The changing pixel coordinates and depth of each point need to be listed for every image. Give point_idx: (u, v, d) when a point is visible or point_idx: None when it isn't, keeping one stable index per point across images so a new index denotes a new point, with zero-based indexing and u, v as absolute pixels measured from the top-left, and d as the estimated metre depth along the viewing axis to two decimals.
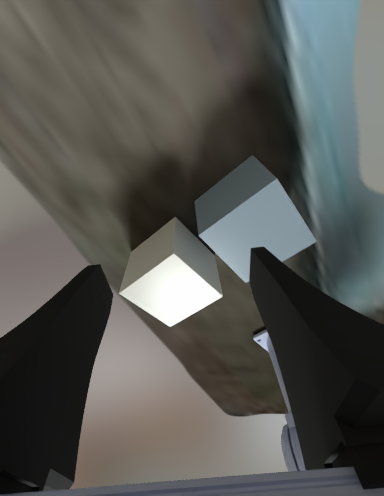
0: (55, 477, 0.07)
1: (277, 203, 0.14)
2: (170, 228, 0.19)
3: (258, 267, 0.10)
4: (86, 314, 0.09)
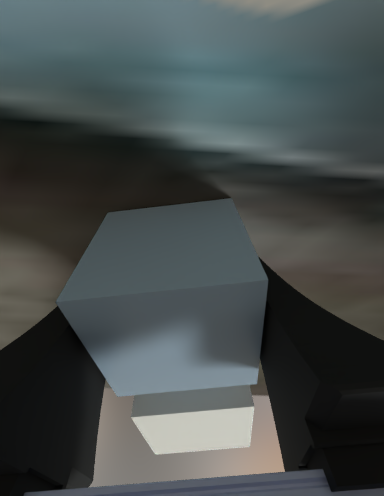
0: (76, 475, 0.07)
1: (114, 314, 0.07)
2: None
3: None
4: None
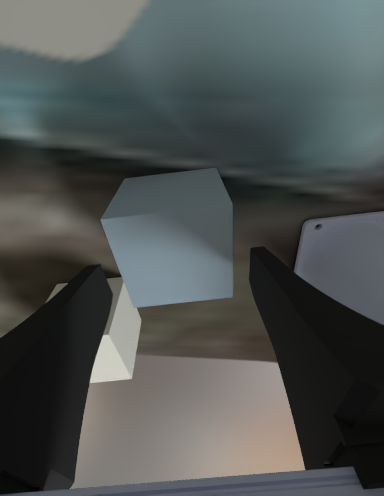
0: (55, 477, 0.07)
1: (136, 230, 0.10)
2: None
3: (258, 267, 0.10)
4: (86, 314, 0.09)
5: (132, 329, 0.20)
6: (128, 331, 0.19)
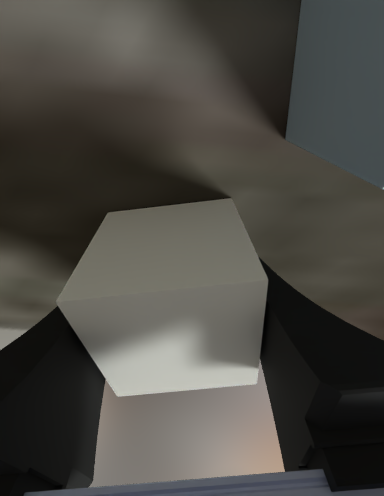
0: (76, 475, 0.07)
1: None
2: None
3: None
4: None
5: None
6: None
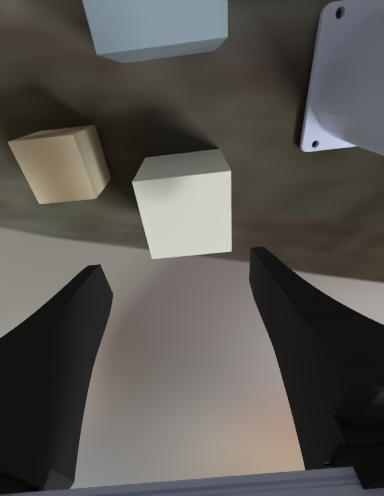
0: (55, 477, 0.07)
1: None
2: None
3: (258, 267, 0.10)
4: (86, 314, 0.09)
5: None
6: None
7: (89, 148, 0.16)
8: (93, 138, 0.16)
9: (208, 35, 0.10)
